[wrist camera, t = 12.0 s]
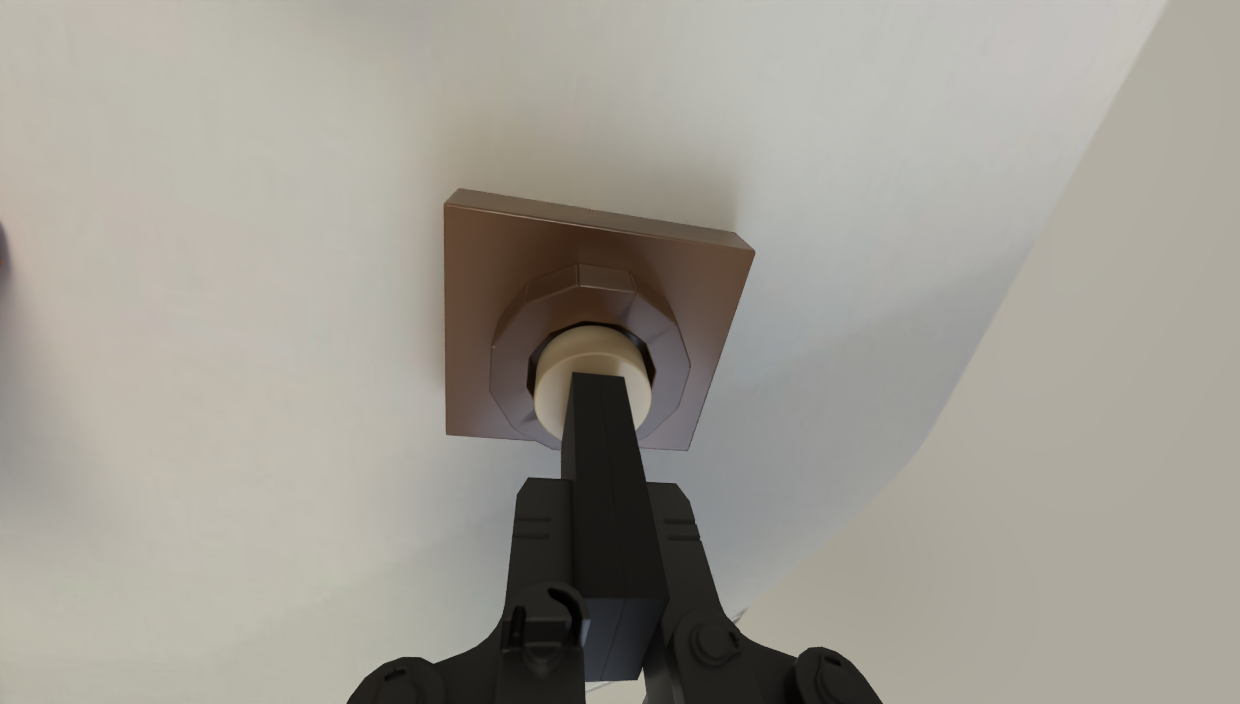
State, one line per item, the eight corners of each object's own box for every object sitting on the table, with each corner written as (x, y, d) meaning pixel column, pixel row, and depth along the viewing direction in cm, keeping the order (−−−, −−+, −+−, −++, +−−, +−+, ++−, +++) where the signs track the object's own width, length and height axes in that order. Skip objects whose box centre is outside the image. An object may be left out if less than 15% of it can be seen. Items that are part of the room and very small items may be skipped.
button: (654, 331, 15) (664, 359, 13) (632, 417, 17) (639, 451, 15) (541, 318, 14) (539, 346, 13) (531, 409, 16) (528, 444, 14)
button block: (736, 232, 17) (778, 270, 14) (677, 419, 21) (699, 483, 18) (457, 187, 15) (427, 218, 12) (456, 402, 20) (434, 469, 16)
